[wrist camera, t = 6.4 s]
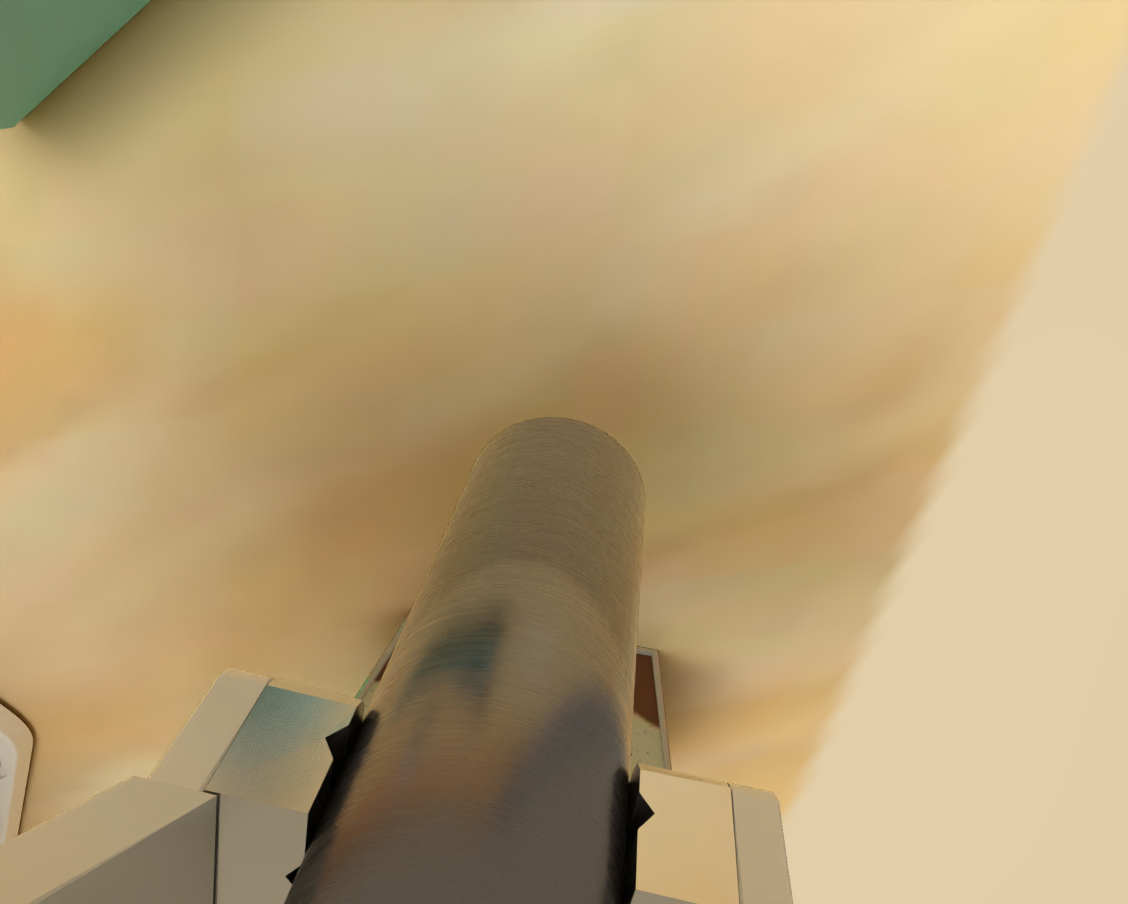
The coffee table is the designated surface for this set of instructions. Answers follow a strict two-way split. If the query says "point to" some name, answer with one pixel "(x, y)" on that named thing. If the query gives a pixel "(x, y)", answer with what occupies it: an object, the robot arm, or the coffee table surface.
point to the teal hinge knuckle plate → (50, 46)
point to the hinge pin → (503, 696)
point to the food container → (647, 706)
